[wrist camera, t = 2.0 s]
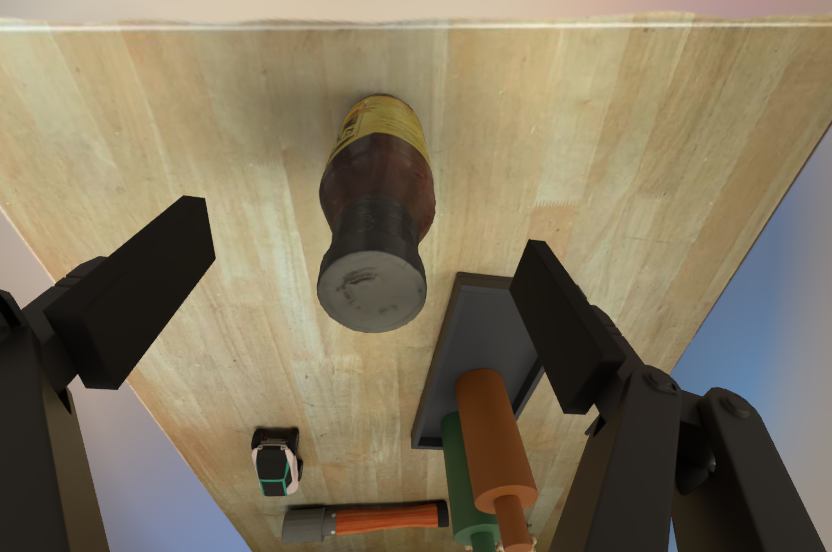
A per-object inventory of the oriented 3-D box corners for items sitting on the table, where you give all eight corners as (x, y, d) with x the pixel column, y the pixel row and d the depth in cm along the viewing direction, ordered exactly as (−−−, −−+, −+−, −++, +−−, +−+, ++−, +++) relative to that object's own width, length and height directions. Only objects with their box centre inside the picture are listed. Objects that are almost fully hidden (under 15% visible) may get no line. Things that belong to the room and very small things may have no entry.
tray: (457, 271, 37) (461, 285, 35) (578, 284, 39) (587, 298, 37) (410, 434, 54) (411, 448, 52) (495, 437, 56) (498, 452, 54)
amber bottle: (461, 366, 44) (494, 535, 30) (509, 370, 45) (565, 535, 31) (449, 397, 48) (474, 561, 33) (494, 400, 49) (538, 561, 34)
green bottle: (445, 409, 50) (468, 571, 35) (489, 411, 50) (528, 570, 36) (436, 434, 53) (453, 590, 39) (477, 436, 54) (508, 589, 40)
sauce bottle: (346, 83, 26) (275, 184, 10) (429, 99, 27) (483, 215, 11) (341, 169, 30) (282, 343, 14) (413, 181, 31) (437, 356, 15)
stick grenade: (449, 515, 64) (279, 529, 61) (448, 538, 66) (281, 552, 63) (444, 490, 69) (286, 502, 66) (444, 512, 71) (289, 524, 68)
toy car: (266, 467, 58) (256, 503, 53) (256, 425, 51) (243, 462, 46) (303, 467, 58) (296, 503, 54) (298, 425, 51) (290, 463, 47)
